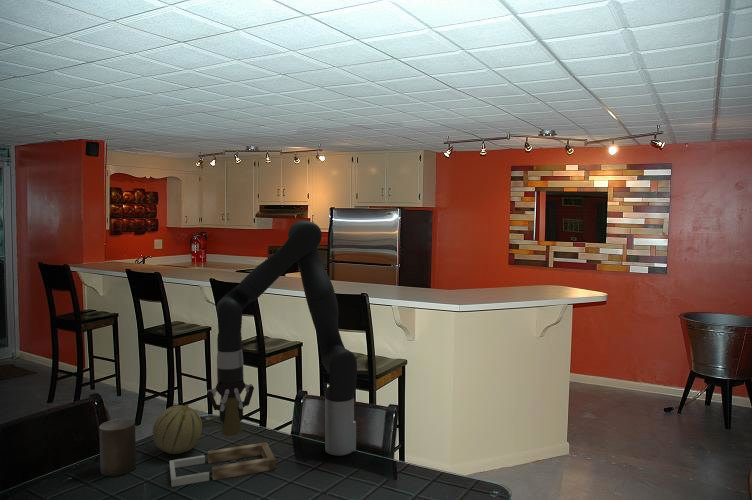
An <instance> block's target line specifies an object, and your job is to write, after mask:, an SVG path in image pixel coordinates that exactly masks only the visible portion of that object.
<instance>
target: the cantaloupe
mask: <svg viewBox="0 0 752 500" xmlns="http://www.w3.org/2000/svg"><path fill="white" fill-rule="evenodd" d="M202 432H203V423H202V419H201V417H200V415H199V413H198V412H197V411H196V410H195V409H194V408H192V407H190V405H189V403H188V404H185V405H179V404H178V405H173V406H169V407H168V408H166V409H165V410H163V411H162V412H161V413H160V415H158V417H157V418H156V420H155V421H154V424H153V428H152V439H153V442H154V444H155V445H156V446H157V448H158V449H159V450H161V451H163V452H164V453H165V452H166V453H167V454H171V455H178V454H183V453H186V452H188V451H190V450H192V449H193V448H194V447H195V445H197V443H199V440H200V438H201V436H202Z"/></svg>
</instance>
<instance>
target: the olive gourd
mask: <svg viewBox="0 0 752 500" xmlns="http://www.w3.org/2000/svg"><path fill="white" fill-rule="evenodd" d="M239 403H240V402H239V401H238V399H237V398H236V397H229V398H227V401H226V402H225V404H224V407H225V408H224V411H225V420H224V423H222V422H221V423H222V424H221V435H223V436H225V437H230V436H231V437H234V436H237V435H240V434H241V433H242V432H243V427H242V420H241V421H240V418H239V411H238V409H239V407H238V406H239Z"/></svg>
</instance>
